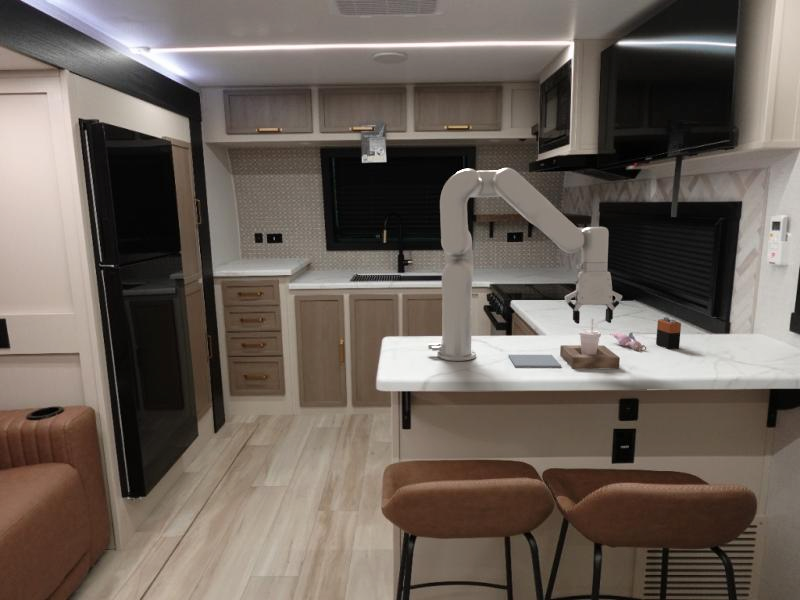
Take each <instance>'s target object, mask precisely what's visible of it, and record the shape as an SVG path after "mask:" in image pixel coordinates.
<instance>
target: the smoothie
mask: <svg viewBox="0 0 800 600" xmlns="http://www.w3.org/2000/svg"><path fill="white" fill-rule="evenodd" d="M594 319H595V318H593V317H592V318H591V322H590V323H591V324H590V326H591V327H590V329H582V330H579V331H578V333H579V334H578V335H579V337H580V345H581V353H582V355H596V353H597V347H598V345H599V342H600V337H601V336H602V335H601V334H602V332H600V331H598V330H594Z"/></svg>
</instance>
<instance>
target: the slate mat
mask: <svg viewBox="0 0 800 600" xmlns="http://www.w3.org/2000/svg"><path fill="white" fill-rule="evenodd" d="M508 358H509V360H510V362H511V363H512V365H513V366H515V367H514V368H562V365H561V363H559V361H558V360H557V359H556V358H555V357H554V356H553V354H508Z"/></svg>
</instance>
